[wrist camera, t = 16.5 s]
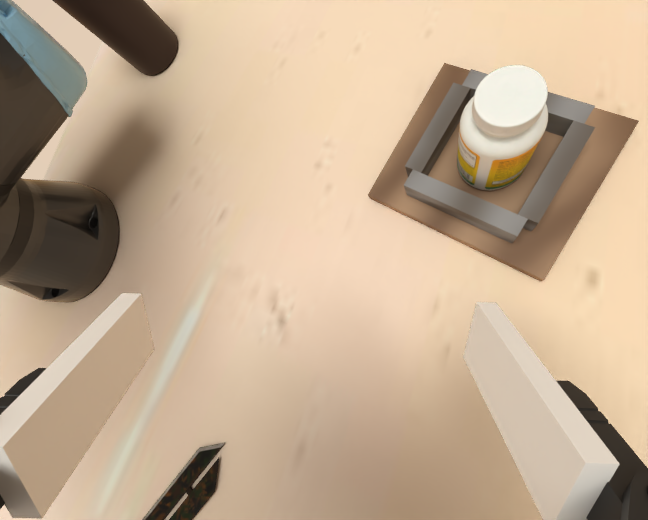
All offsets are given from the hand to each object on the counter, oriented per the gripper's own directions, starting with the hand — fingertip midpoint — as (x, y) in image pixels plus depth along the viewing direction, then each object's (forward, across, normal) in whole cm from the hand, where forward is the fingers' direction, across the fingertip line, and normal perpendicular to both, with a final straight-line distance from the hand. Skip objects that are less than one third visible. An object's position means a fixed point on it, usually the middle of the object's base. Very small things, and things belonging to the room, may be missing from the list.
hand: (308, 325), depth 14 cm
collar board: (+20, +15, +3) cm, 25 cm away
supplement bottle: (+19, +14, +3) cm, 24 cm away
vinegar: (+43, -22, +12) cm, 49 cm away
